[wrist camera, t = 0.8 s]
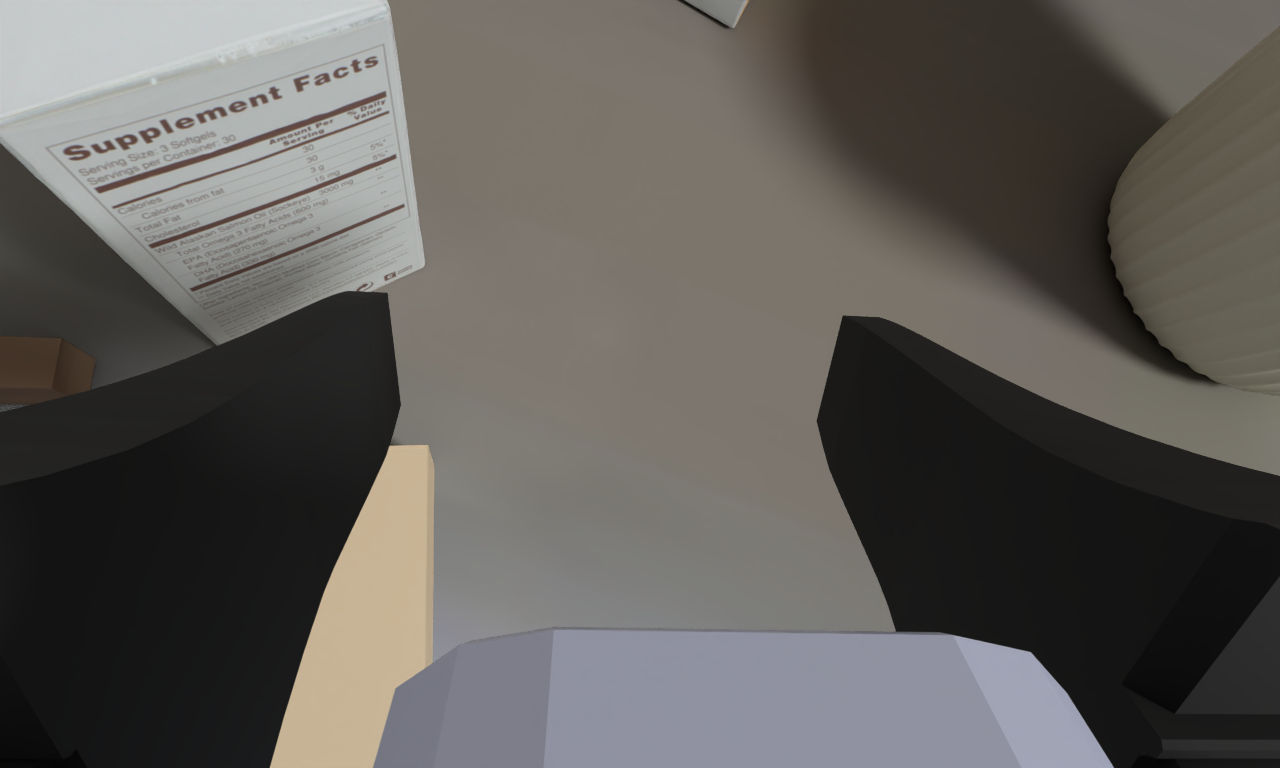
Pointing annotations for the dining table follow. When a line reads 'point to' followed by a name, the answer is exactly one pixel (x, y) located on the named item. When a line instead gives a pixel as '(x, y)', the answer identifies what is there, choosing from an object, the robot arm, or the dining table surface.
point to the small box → (722, 9)
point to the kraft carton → (367, 623)
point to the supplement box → (220, 144)
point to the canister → (1210, 227)
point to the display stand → (42, 369)
